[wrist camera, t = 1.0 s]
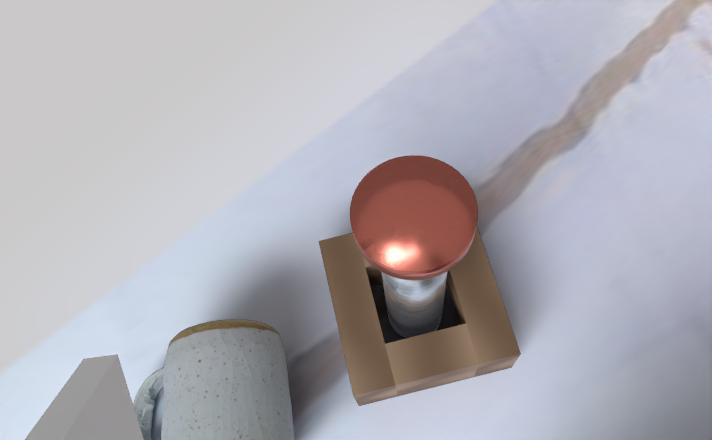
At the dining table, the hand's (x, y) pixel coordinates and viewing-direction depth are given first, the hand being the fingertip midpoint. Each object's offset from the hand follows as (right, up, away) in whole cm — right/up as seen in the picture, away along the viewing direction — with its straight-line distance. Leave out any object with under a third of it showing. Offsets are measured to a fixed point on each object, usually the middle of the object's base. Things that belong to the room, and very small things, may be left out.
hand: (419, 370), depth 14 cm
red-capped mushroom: (+2, -3, +29) cm, 29 cm away
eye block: (+2, -3, +29) cm, 29 cm away
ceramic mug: (-10, -9, +28) cm, 31 cm away
